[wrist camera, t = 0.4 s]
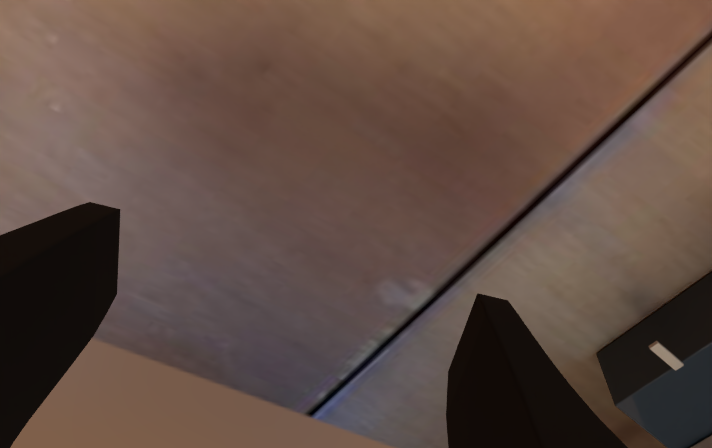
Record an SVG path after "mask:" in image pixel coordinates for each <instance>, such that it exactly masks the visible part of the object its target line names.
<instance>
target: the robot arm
mask: <svg viewBox="0 0 712 448" xmlns="http://www.w3.org/2000/svg"><path fill="white" fill-rule="evenodd" d="M119 227H120V209H116V208H112V207H108V206H104V205H99V204H95V203H91V202H89V203H86V204H82V205H79V206H76V207H73V208H71V209H68V210H65V211H62V212H60V213H57V214H55V215H52V216H49V217H47V218H44V219H42V220H39V221H37V222H34V223H31V224H29V225H26V226H24V227H21V228H18V229H16V230H13V231H11V232H8V233H5V234H3V235H0V448H10V447H11V445H12V444H13V442H14V441H15V439H16V438H17V436H18V435H19V433H20V432H21V430H22V429H23V428H24V426H25V425H26V423H27V422H28V421H29V419H30V418H31V417H32V415H33V414H34V413H35V411H36V410H37V409H38V408H39V406H40V405H41V404H42V402H43V401H44V400H45V399H46V397H47V396H48V395H49V393H50V392H51V391H52V390H53V388H54V387H55V386H56V384H57V383H58V382H59V380H60V379H61V378H62V377H63V375H64V374H65V373H66V371H67V370H68V369H69V367H70V366H71V365H72V364H73V362H74V361H75V360H76V358H77V357H78V356H79V354H80V353H81V352H82V350H83V349H84V348H85V346H86V345H87V344H88V342H89V341H90V340H91V338H92V337H93V336H94V334H95V332H96V331H97V329H98V327H99V325H100V324H101V322H102V320H103V319H104V317H105V315H106V313H107V311H108V309H109V308H110V306H111V304H112V302H113V300H114V298H115V297H116V295H117V279H118V253H119ZM446 419H447V433H448V445H449V448H627V446H626V445H625V444H624V443H623V442H622V441H621V440H620V439H619V438H618V437H617V436H616V435H615V434H614V433H613V432H612V431H611V430H610V429H609V428H608V427H607V426H606V425H605V424H604V423H603V422H602V421H601V420H600V419H599V418H598V417H597V416H596V415H595V413H594V412H593V411H592V410H591V409H590V408H589V407H588V406H587V404H586V403H585V402H584V401H583V400H582V398H581V397H580V396H579V395H578V394H577V393H576V391H575V390H574V389H573V388H572V387H571V385H570V384H569V383H568V382H567V380H566V379H565V378H564V377H563V375H562V374H561V373H560V372H559V370H558V369H557V368H556V366H555V365H554V364H553V362H552V361H551V360H550V358H549V357H548V356H547V354H546V353H545V352H544V350H543V349H542V348H541V346H540V345H539V343H538V342H537V341H536V339H535V338H534V336H533V335H532V334H531V332H530V331H529V329H528V328H527V326H526V325H525V324H524V322H523V321H522V319H521V318H520V317H519V315H518V314H517V312H516V311H515V310H514V308H513V307H512V305H511V304H510V303H509V302H508V300H503V299H499V298H495V297H491V296H486V295H482V294H477V296H476V299H475V302H474V304H473V307H472V310H471V312H470V315H469V318H468V320H467V323H466V326H465V328H464V331H463V334H462V336H461V339H460V342H459V344H458V347H457V350H456V352H455V355H454V358H453V360H452V363H451V366H450V369H449V371H448V388H447V410H446Z"/></svg>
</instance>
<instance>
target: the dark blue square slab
mask: <svg viewBox="0 0 712 448" xmlns="http://www.w3.org/2000/svg"><path fill="white" fill-rule="evenodd" d="M597 357H598V360H599V363H600V366H601V368H602V371H603V374H604V377H605V379H606V382H607V385H608V388H609V390H610V393H611V396H612V399H613V401H614V404H615V406H616V407H617V408H619V409H620V410H621V411H622V412H624V413H625V414H626V415H627V416H629V417H630V418H631V419H632V420H634V421H635V422H636V423H637V424H639V425H640V426H641V427H642V428H643V429H645V430H646V431H647V432H648V433H650V434H651V435H652V436H653V437H655V438H656V439H657V440H658V441H660V442H661V443H662V444H663V445H665V446H666V447H667V448H691V447H692V446H694V445H696V444H697V443H699V442H701V441H702V440H704V439H706V438H708V437H709V436H711V435H712V272H711V273H710V274H708V275H707V276H706V277H704V278H703V279H701V280H700V281H699V282H697V283H696V284H694V285H693V286H692V287H690V288H689V289H687V290H686V291H684V292H683V293H682V294H680V295H679V296H677V297H676V298H675V299H673V300H672V301H670V302H669V303H668V304H666V305H665V306H663V307H662V308H660V309H659V310H658V311H656V312H655V313H653V314H652V315H651V316H649V317H648V318H646V319H645V320H644V321H642V322H641V323H639V324H638V325H636V326H635V327H634V328H632V329H631V330H629V331H628V332H627V333H625V334H624V335H622V336H621V337H620V338H618V339H617V340H615V341H614V342H612V343H611V344H610V345H608V346H607V347H605V348H604V349H603V350H601V351H600V352H598V353H597Z"/></svg>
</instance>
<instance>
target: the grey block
mask: <svg viewBox="0 0 712 448" xmlns="http://www.w3.org/2000/svg"><path fill="white" fill-rule="evenodd" d="M691 448H712V435H711V436H709V437H708V438H706V439H704V440H702V441H701V442H699V443H697V444H696V445H694V446H692V447H691Z"/></svg>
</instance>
